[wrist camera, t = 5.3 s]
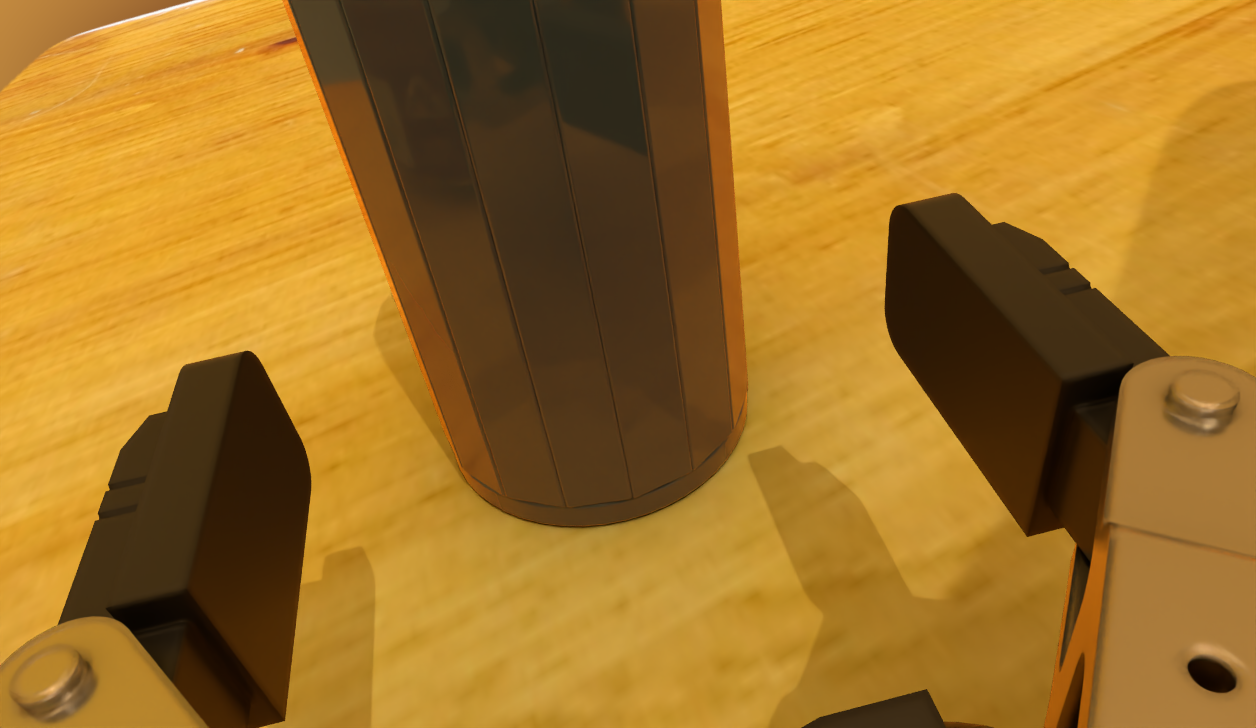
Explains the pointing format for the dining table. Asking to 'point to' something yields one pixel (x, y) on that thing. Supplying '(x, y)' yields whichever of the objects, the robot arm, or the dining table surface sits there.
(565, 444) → the cup
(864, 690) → the dining table surface
